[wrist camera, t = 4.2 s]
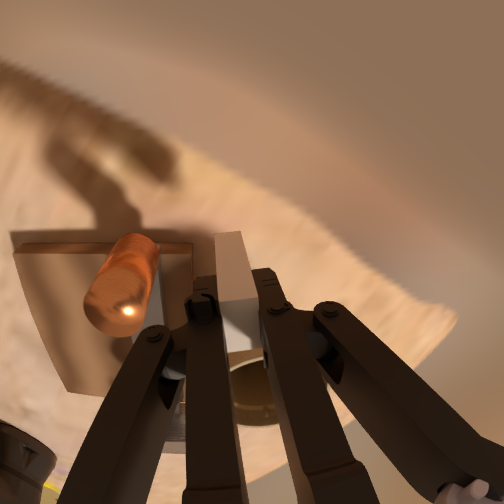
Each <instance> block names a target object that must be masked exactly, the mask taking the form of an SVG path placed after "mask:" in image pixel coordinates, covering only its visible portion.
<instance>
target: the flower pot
mask: <svg viewBox="0 0 504 504" xmlns="http://www.w3.org/2000/svg"><path fill="white" fill-rule="evenodd" d="M228 358H229V365H230V373H231V382H232V390H233V397H234V405H235V413H236V420H237V426H239V427H248V428H265V427H273V426H278V425H279V421H278V417H277V413H276V409H275V404H274V400H273V396H272V392H271V388H270V383H269V379H268V375H267V370H266V368H264V360H263V347H262V348H258V349H251V350H244V351H236V352H228ZM321 376H322V375H321ZM322 378H323V376H322ZM323 381H324V383H325V385H326V388H327V390H328V392H329V390H330V387H331V386H330V385H329V384H328V383H327V381H326V380H325V379H324V378H323Z"/></svg>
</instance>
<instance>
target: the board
mask: <svg viewBox="0 0 504 504" xmlns="http://www.w3.org/2000/svg"><path fill="white" fill-rule="evenodd" d="M115 244H116V243H43V244H22V245H21V246H20V247H19V248H18V249H17V250H16V251H15V252H14V253H13V257H14V261H15V264H16V268H17V271H18V275H19V278H20V281H21V285H22V288H23V291H24V294H25V297H26V300H27V302H28V305H29V308H30V311H31V313H32V316H33V319H34V321H35V324H36V326H37V329H38V331H39V334H40V336H41V338H42V341H43V343H44V345H45V347H46V350H47V352H48V354H49V356H50V358H51V360H52V362H53V365H54V367H55V369H56V371H57V373H58V375H59V376H60V378H61V380H62V382H63V384H64V386H65V388H66V390H67V391H68V392H71V393H77V394H84V395H91V396H99V397H106V395H107V393H108V391H109V389H110V387H111V385H112V383H113V381H114V379H115V378H116V376H117V374H118V372H119V370H120V368H121V366H122V364H123V363H124V361H125V359H126V357H127V355H128V353H129V351H130V350H131V348H132V346H133V342H132V337H131V336H128V337H114V336H110V335H107V334H105V333H103V332H101V331H99V330H98V329H96V328H95V327H94V326H93V325H92V324H91V323H90V322H89V320H88V319H87V317H86V315H85V312H84V308H83V301H84V297H85V295H86V293H87V291H88V289H89V288H90V286H91V284H92V282H93V281H94V279H95V277H96V275H97V274H98V272H99V270H100V269H101V267H102V265H103V263H104V262H105V260H106V258H107V257H108V255H109V254H110V252H111V250H112V249H113V247H114V245H115ZM155 245H161V258H162V271H163V282H164V293H165V302H166V311H167V320H168V328H169V330H170V331H171V330H174V329H177V328H179V327H182V326H183V325H185V324H186V323H187V322H188V319H187V315H186V311H185V306H184V302H185V299H187V298H188V297H189V296H190V295H192V292H193V266H192V243H155ZM185 391H186V377H185V382H184V396H183V400H182V401H181V402H185Z"/></svg>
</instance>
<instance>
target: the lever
mask: <svg viewBox="0 0 504 504" xmlns="http://www.w3.org/2000/svg"><path fill="white" fill-rule="evenodd" d="M83 308H84V312H85V315H86V317H87V319H88V320H89V322H90V323H91V324H92V325H93V326H94V327H95V328H96V329H98V330H99V331H101V332H103V333H105V334H107V335H110V336H114V337H128V336H131V337H132V342H133V344H134V342H135V341H136V339H137V337H138V335H139V334H140V332H141V331H142V330H143V329H145V328H147V327H149V326H152V325H164V326H166V327H167V328H168V320H167V311H166V302H165V293H164V282H163V271H162V258H161V245H155V243H154V242H153V241H152V240H151V239H149V238H148V237H146V236H144V235H141V234H136V233H132V234H127V235H124V236H123V237H121V238H120V239H119V240H118V241H117V242H116V244H115V245H114V247H113V249H112V250H111V252H110V254H109V255H108V257H107V258H106V260H105V262H104V263H103V265H102V267H101V269H100V270H99V272H98V274H97V275H96V277H95V279H94V281H93V282H92V284H91V286H90V288H89V289H88V291H87V293H86V295H85V297H84V301H83ZM183 396H184V385H183V388H182V391H181V394H180V397H179V400H178V403H177V406H176V409H175V412H174V415H173V419H172V422H171V425H170V428H169V431H168V434H167V437H166V440H165V443H164V447H163V450H162V453H172V454H186V443H185V403H180V402H181V401H182V400H183Z"/></svg>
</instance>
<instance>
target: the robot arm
mask: <svg viewBox="0 0 504 504" xmlns="http://www.w3.org/2000/svg"><path fill="white" fill-rule="evenodd" d="M214 240H215V257H216V273H217V275H213V276H204V277H197V279H196V280H195V281H194V283H193V292H192V295H190V296H189V297H188V298H187V299H185V302H184V306H185V311H186V315H187V319H188V322H187V323H186V324H185V325H183V326H182V327H179V328H177V329H174V330H171V331H170V330H169V328H167V327H166V326H164V325H152V326H149V327H147V328H145V329H143V330H142V331H141V332H140V334H139V335H138V337H137V339H136V341H135V342H134V344H133V346H132V348H131V350H130V351H129V353H128V355H127V357H126V359H125V361H124V363H123V364H122V366H121V368H120V370H119V372H118V374H117V376H116V378H115V379H114V381H113V383H112V385H111V387H110V389H109V391H108V393H107V395H106V397H105V399H104V401H103V403H102V405H101V407H100V409H99V411H98V413H97V415H96V417H95V419H94V421H93V423H92V425H91V427H90V429H89V431H88V433H87V435H86V437H85V440H84V442H83V444H82V446H81V448H80V450H79V452H78V455H77V457H76V459H75V461H74V463H73V466H72V468H71V470H70V472H69V475H68V477H67V479H66V482H65V484H64V486H63V489H62V491H61V493H60V496H59V498H58V501H57V504H146V502H147V498H148V495H149V492H150V488H151V485H152V482H153V479H154V475H155V472H156V469H157V466H158V462H159V459H160V456H161V453H162V450H163V447H164V443H165V440H166V437H167V434H168V431H169V428H170V425H171V422H172V419H173V415H174V412H175V409H176V406H177V403H178V400H179V397H180V394H181V391H182V388H183V385H184V382H185V377H186V391H185V443H186V479H187V485H186V489H185V490H184V491H183V494H182V504H249V499H248V493H247V488H246V481H245V474H244V468H243V462H242V455H241V448H240V441H239V434H238V427H237V420H236V413H235V405H234V397H233V390H232V382H231V373H230V365H229V358H228V352H236V351H244V350H251V349H258V348H262V347H263V360H264V368H266V370H267V375H268V379H269V383H270V388H271V392H272V396H273V400H274V404H275V409H276V413H277V417H278V421H279V425H280V430H281V434H282V438H283V442H284V446H285V450H286V454H287V458H288V462H289V466H290V470H291V474H292V479H293V483H294V487H295V490H296V494H297V501H298V504H380V503H379V500H378V498H377V495H376V492H375V490H374V487H373V485H372V482H371V480H370V477H369V475H368V472H367V470H366V468H365V466H364V465H363V464H362V462H360V461H358V460H356V459H355V458H354V456H353V454H352V452H351V449H350V446H349V444H348V441H347V439H346V436H345V434H344V431H343V428H342V426H341V423H340V421H339V418H338V416H337V413H336V411H335V408H334V406H333V403H332V401H331V398H330V396H329V393H328V390H327V388H326V385H325V383H324V381H323V378H324V379H325V380H326V381H327V383H328V384H329V385H330V386H331V388H332V389H333V390H334V392H335V393H336V394H337V395H338V397H339V398H340V399H341V400H342V402H343V403H344V404H345V405H346V407H347V408H348V409H349V410H350V412H351V413H352V414H353V415H354V417H355V418H356V419H357V420H358V422H359V423H360V424H361V425H362V427H363V428H364V429H365V430H366V432H367V433H368V434H369V435H370V437H371V438H372V439H373V440H374V442H375V443H376V444H377V445H378V446H379V448H380V449H381V450H382V451H383V452H384V454H385V455H386V456H387V457H388V459H389V460H390V461H391V462H392V463H393V465H394V466H395V467H396V468H397V470H398V471H399V472H400V473H401V474H402V476H403V477H404V478H405V479H406V480H407V482H408V483H409V484H410V485H411V486H412V487H413V488H414V489H415V490H416V491H417V492H418V493H419V494H420V495H421V496H423V497H424V498H425V499H426V500H428V501H430V502H431V503H433V504H504V447H503V446H501V445H499V444H496V443H494V442H492V441H490V440H487V439H485V438H483V437H481V436H480V435H479V434H478V433H477V432H476V431H475V430H474V429H473V428H472V427H471V426H470V425H469V424H468V423H467V422H466V421H465V420H464V419H463V418H462V417H461V416H460V415H459V414H458V413H457V412H456V411H455V410H454V409H453V408H452V407H451V406H450V405H449V404H448V403H447V402H445V401H444V400H443V399H442V398H441V397H440V396H439V395H438V394H437V393H436V392H435V391H434V390H433V389H432V388H431V387H430V386H429V385H428V384H427V383H426V382H425V381H424V380H423V379H422V378H421V377H419V376H418V375H417V374H416V373H415V372H414V371H413V370H412V369H411V368H410V367H409V366H408V365H407V364H406V363H405V362H404V361H403V360H401V359H400V358H399V357H398V356H397V355H396V354H395V353H394V352H393V351H392V350H391V349H390V348H389V347H388V346H387V345H385V344H384V343H383V342H382V341H381V340H380V339H379V338H378V337H377V336H376V335H375V334H374V333H373V332H371V331H370V330H369V329H368V328H367V327H366V326H365V325H364V324H363V323H362V322H361V321H360V320H358V319H357V318H356V317H355V316H354V315H353V314H352V313H351V312H350V311H349V310H347V309H346V308H345V307H344V306H343V305H341V304H340V303H337V302H334V301H325V302H321V303H319V304H317V305H316V306H315V307H314V311H304V310H298V309H295V308H294V307H293V305H292V304H291V303H290V302H288V301H287V300H286V298H285V295H284V293H283V291H282V288H281V286H280V283H279V281H278V278H277V276H276V273H275V272H274V271H273V270H271V269H270V268H262V269H254V270H251V268H250V265H249V261H248V257H247V253H246V250H245V246H244V242H243V239H242V235H241V231H235V232H227V233H219V234H214ZM321 375H322V376H323V378H322V376H321ZM56 461H57V457H56V456H55V454H54V453H53V452H52V451H51V450H50V449H49V448H47V447H46V446H45V445H43V444H42V443H40V442H39V441H37V440H36V439H34V438H33V437H31V436H29V435H27V434H26V433H24V432H22V431H20V430H18V429H16V428H13V427H11V426H8V425H5V424H0V504H40V500H41V493H42V488H43V484H44V483H45V481H46V480H47V478H48V477H49V475H50V474H51V472H52V471H53V469H54V468H55V465H56Z"/></svg>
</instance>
